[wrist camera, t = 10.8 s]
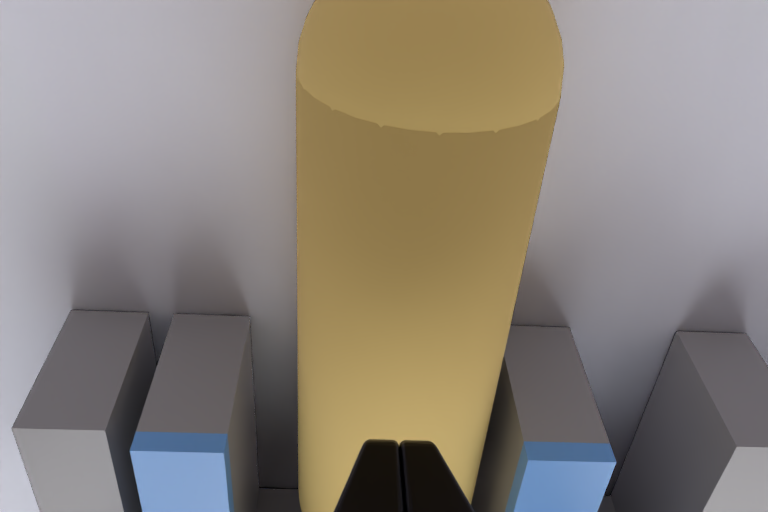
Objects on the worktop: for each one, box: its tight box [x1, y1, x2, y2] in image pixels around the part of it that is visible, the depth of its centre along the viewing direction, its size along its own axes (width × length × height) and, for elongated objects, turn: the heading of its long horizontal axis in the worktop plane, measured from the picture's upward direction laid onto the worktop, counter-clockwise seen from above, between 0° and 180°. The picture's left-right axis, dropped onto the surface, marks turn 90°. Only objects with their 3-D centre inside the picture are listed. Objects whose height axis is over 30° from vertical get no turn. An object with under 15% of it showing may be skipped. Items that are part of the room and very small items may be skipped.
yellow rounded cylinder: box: [296, 0, 564, 512], centre depth 13 cm, size 13×4×4 cm, turn 176°
